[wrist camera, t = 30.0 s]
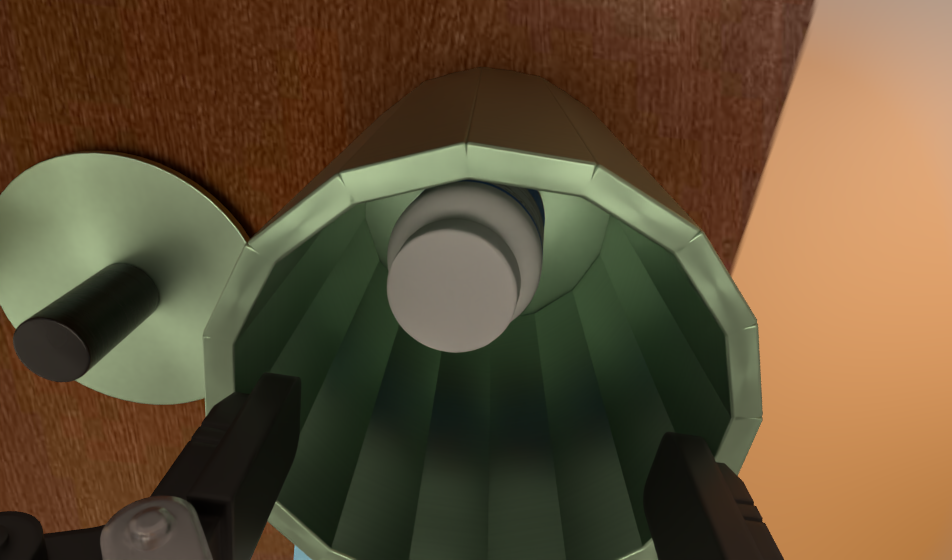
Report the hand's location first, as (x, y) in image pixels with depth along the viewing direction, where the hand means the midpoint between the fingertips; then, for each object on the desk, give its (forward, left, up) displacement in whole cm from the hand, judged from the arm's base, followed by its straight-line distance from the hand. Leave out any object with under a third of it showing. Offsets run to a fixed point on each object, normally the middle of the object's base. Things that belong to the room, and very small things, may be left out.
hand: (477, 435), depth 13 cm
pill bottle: (0, 0, -15) cm, 15 cm away
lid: (+7, -16, -15) cm, 23 cm away
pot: (0, 0, -16) cm, 16 cm away
